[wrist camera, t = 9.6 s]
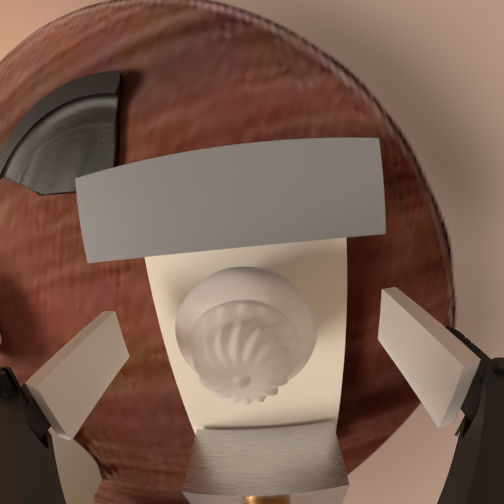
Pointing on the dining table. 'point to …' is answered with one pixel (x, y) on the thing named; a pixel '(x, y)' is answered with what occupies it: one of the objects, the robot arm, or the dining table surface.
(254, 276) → the white steamed bun
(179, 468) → the dining table surface
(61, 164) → the curved wedge
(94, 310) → the dining table surface
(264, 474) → the ram
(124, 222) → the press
